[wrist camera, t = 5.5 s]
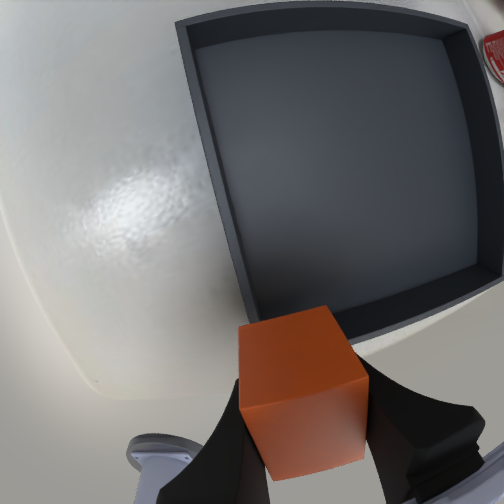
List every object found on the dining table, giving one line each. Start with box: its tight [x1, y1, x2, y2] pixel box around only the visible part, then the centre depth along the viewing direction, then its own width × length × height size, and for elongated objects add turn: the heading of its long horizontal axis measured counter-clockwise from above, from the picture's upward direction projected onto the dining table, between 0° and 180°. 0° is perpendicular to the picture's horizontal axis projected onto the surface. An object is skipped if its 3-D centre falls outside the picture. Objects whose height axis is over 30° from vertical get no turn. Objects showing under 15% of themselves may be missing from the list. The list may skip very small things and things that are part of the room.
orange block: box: [238, 305, 369, 481], centre depth 11 cm, size 6×4×5 cm
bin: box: [175, 1, 504, 345], centre depth 17 cm, size 23×23×4 cm
